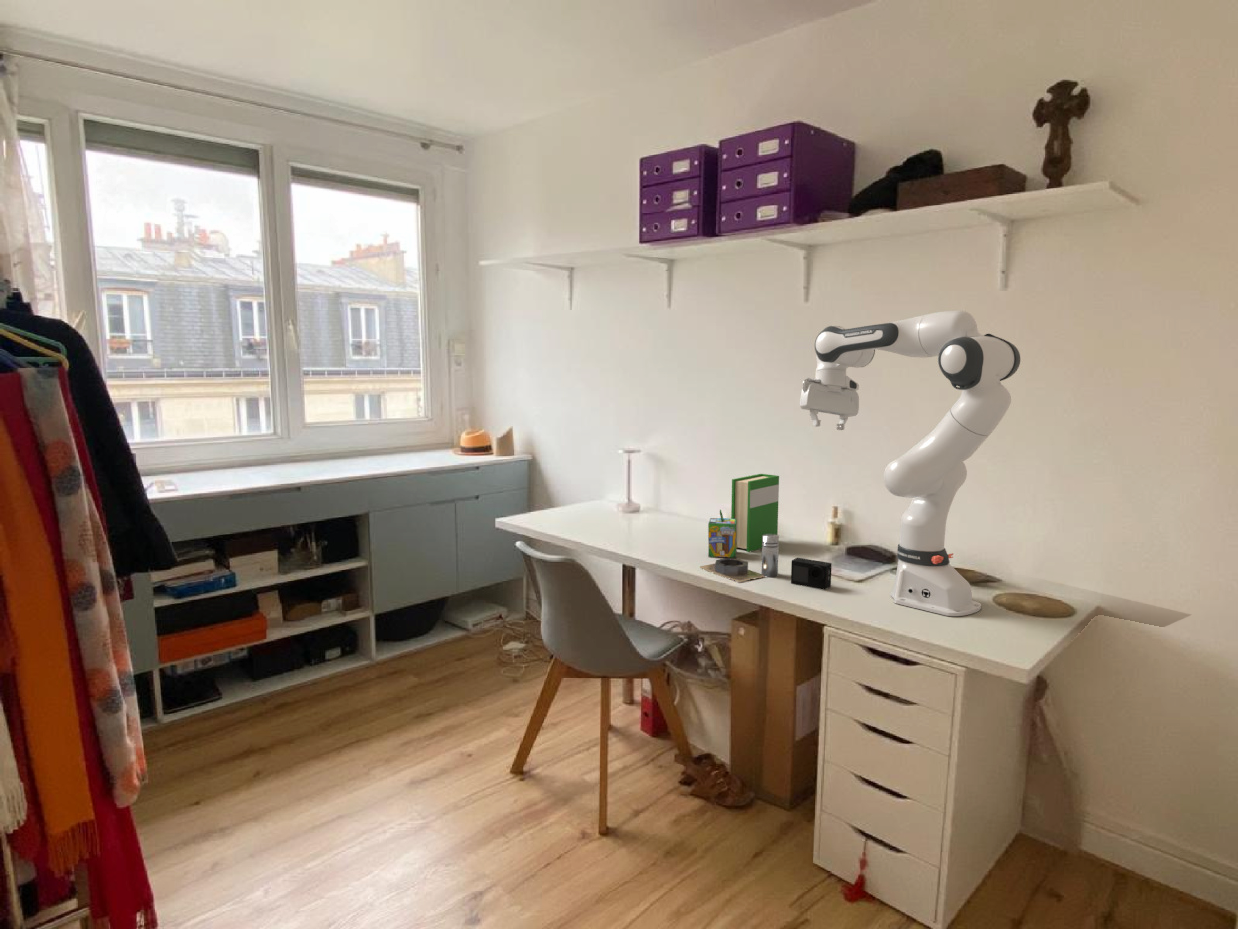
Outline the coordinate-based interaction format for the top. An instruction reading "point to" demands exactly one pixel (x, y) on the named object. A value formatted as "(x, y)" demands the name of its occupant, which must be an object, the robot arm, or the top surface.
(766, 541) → the piston
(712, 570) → the ring board
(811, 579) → the digital camera
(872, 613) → the top surface
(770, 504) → the hardback book
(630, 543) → the top surface
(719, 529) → the chalk box
